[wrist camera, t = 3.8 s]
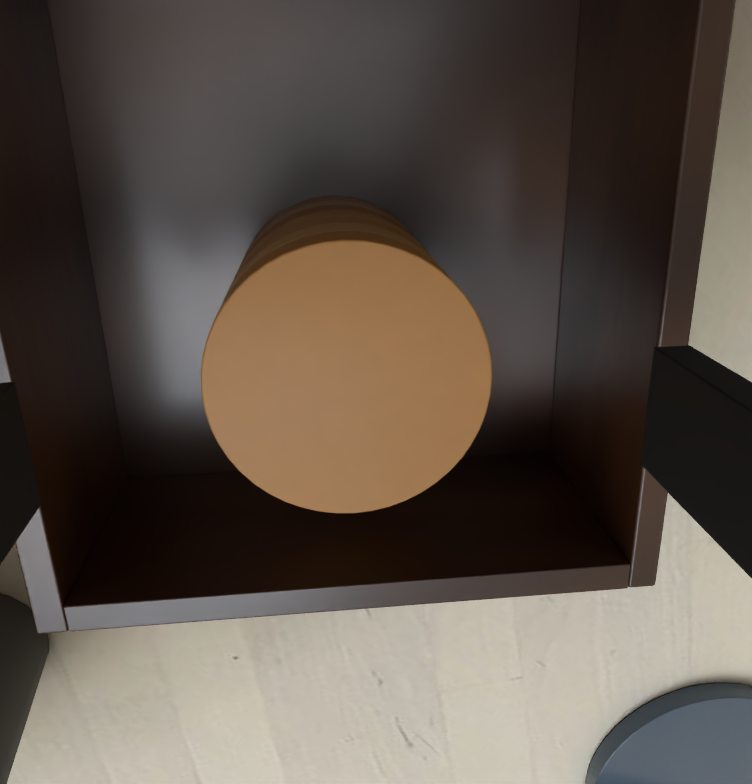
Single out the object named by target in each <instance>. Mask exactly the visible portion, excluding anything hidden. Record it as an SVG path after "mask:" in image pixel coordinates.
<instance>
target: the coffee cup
mask: <svg viewBox="0 0 752 784" xmlns="http://www.w3.org/2000/svg"><path fill="white" fill-rule="evenodd" d="M48 652H49V642H48V634H47V633H40V634H38V633H37V630H36V626H35V622H34V618H33V614H32V611H31V610H30V609H29V608H28V607H27V606H25V605H24V604H22V603H20V602H18V601H16V600H15V599H13V598H11V597H9V596H5V595H1V594H0V784H7V780H8V777H9V774H10V771H11V768H12V765H13V762H14V758H15V755H16V752H17V749H18V746H19V743H20V740H21V736H22V733H23V730H24V727H25V724H26V721H27V718H28V715H29V711H30V708H31V705H32V702H33V699H34V696H35V693H36V689H37V686H38V683H39V680H40V677H41V674H42V671H43V667H44V664H45V661H46V658H47V655H48Z"/></svg>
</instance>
